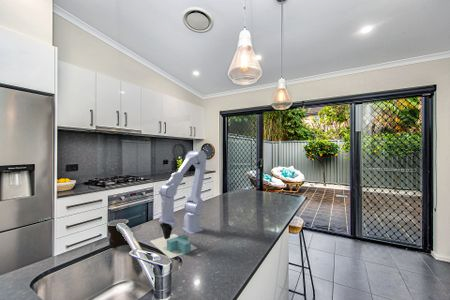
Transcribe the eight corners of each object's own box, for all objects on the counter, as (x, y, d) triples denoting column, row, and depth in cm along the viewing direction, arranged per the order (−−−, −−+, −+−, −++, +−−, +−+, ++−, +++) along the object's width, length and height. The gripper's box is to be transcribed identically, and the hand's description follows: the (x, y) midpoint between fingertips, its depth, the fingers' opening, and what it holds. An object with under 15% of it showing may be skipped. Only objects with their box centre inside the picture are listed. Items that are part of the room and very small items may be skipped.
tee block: (166, 249, 84) (166, 240, 84) (184, 242, 90) (184, 234, 91) (178, 257, 78) (178, 247, 78) (196, 249, 84) (196, 240, 84)
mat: (149, 241, 92) (149, 240, 92) (174, 234, 101) (174, 233, 101) (170, 260, 76) (170, 258, 76) (198, 249, 85) (198, 248, 85)
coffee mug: (108, 241, 92) (109, 220, 92) (129, 239, 95) (129, 218, 95) (103, 253, 81) (103, 229, 81) (125, 249, 84) (126, 226, 84)
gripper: (153, 208, 96) (152, 235, 96) (166, 215, 85) (166, 246, 85) (166, 205, 101) (166, 232, 100) (180, 212, 90) (180, 241, 90)
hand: (167, 238), depth 93 cm, fingers closed
